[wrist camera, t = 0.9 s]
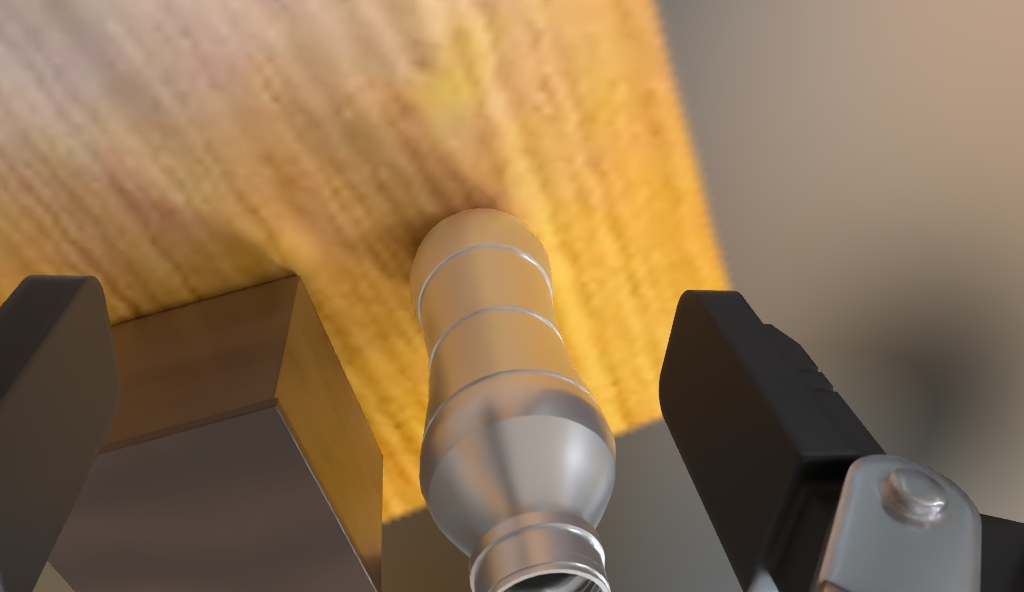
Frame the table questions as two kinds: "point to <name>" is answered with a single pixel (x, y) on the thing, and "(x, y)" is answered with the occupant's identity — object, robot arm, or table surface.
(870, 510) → the robot arm
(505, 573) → the silver metal bottle
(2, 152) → the table surface
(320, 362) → the cabinet
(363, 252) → the table surface
